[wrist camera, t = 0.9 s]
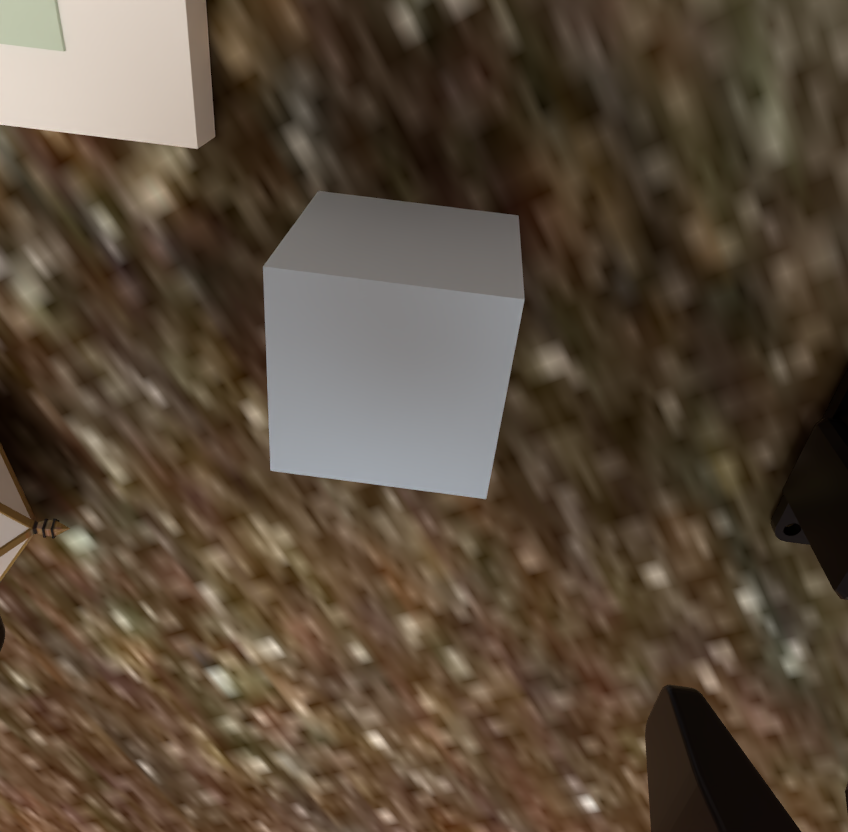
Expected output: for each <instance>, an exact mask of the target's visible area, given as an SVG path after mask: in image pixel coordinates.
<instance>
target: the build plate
mask: <svg viewBox="0 0 848 832" xmlns="http://www.w3.org/2000/svg"><path fill="white" fill-rule="evenodd" d="M0 125H8V126H16V127H24V128H32V129H40V130H48V131H57V132H65V133H73V134H81V135H89V136H97V137H105V138H113V139H121V140H130V141H138V142H146V143H154V144H162V145H170V146H178V147H186V148H195V149H198V148H200V147H201V146H203V145H204V144H206V143H207V142H208V141H210V140H211V139H213V138H214V137H215V124H214V110H213V95H212V81H211V66H210V52H209V37H208V22H207V8H206V0H0Z"/></svg>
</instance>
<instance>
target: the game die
mask: <svg viewBox="0 0 848 832" xmlns="http://www.w3.org/2000/svg"><path fill="white" fill-rule="evenodd" d="M68 529H70V528H68V527H66V526H65V525H63V524H61V523H59V520H57V519H53V520H48V519H45V520H44V521H40V522H37V520H36V518H35V516H34V514H33V511H32V509H31V507H30V505H29V503H28V501H27V499H26V497H25V494H24V492H23V490H22V488H21V486H20V484H19V482H18V479H17V477H16V475H15V473H14V471H13V469H12V467H11V465H10V462H9V460H8V458H7V456H6V454H5V452H4V450H3V447H2V445H1V443H0V582H1V580H2V579H3V578H4V576H5V575H6V573H7V572H8V571H9V569H10V568H11V566H12V565H13V563H14V562H15V561H16V559H17V558H18V556H19V555H20V554H21V552H22V551H23V549H24V548H25V546H26V545H27V544H28V542H29V541H30V539H31V538H32V536H33V535H34V534H37V533H38V534H41V535H43V537H45V538H46V536H52V538H55V537H56V535H58V534H60V533H62V532H64V531H66V530H68Z"/></svg>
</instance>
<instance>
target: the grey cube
mask: <svg viewBox="0 0 848 832" xmlns="http://www.w3.org/2000/svg"><path fill="white" fill-rule="evenodd" d="M263 281H264V308H265V335H266V362H267V389H268V416H269V443H270V470H271V471H277V472H284V473H292V474H299V475H307V476H315V477H322V478H330V479H337V480H345V481H353V482H360V483H368V484H375V485H383V486H391V487H398V488H406V489H413V490H421V491H429V492H436V493H444V494H451V495H459V496H467V497H474V498H482V499H486V497H487V492H488V487H489V482H490V477H491V471H492V466H493V461H494V456H495V451H496V445H497V440H498V435H499V430H500V425H501V419H502V414H503V409H504V404H505V399H506V393H507V388H508V383H509V378H510V373H511V368H512V362H513V357H514V352H515V347H516V342H517V336H518V331H519V326H520V321H521V316H522V310H523V305H524V300H525V298H524V284H523V270H522V256H521V242H520V228H519V215H511V214H503V213H494V212H486V211H478V210H470V209H462V208H454V207H446V206H438V205H430V204H421V203H413V202H405V201H397V200H389V199H381V198H373V197H365V196H356V195H348V194H340V193H332V192H324V191H318V192H317V193H316V195H315V196H314V197H313V199H312V200H311V201H310V203H309V204H308V205H307V207H306V208H305V210H304V211H303V212H302V214H301V215H300V216H299V218H298V219H297V221H296V222H295V223H294V225H293V226H292V227H291V229H290V230H289V232H288V233H287V234H286V236H285V237H284V238H283V240H282V241H281V242H280V244H279V245H278V247H277V248H276V249H275V251H274V252H273V253H272V255H271V256H270V258H269V259H268V260H267V262H266V263H265V264H264V266H263Z"/></svg>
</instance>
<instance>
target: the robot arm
mask: <svg viewBox="0 0 848 832" xmlns="http://www.w3.org/2000/svg"><path fill="white" fill-rule="evenodd" d="M783 493H784V495H783V497H782V499H781V501H780V503H779V505H778V507H777V509H776V511H775V513H774V515H773V517H772V519H771V526H772V529H773V531H774V533H775V535H776V537H777V538H779V539H780V540H783V541H786V542H793V543H801V544H809V545H811V547H812V549H813V551H814V553H815V555H816V557H817V559H818V561H819V563H820V565H821V566H822V568H823V570H824V572H825V574H826V576H827V578H828V580H829V582H830V584H831V586H832V588H833V589H834V591H835V592H836V594H837V595H838V596H839V597H840V598H841V599H846V600H848V369H847V371H846V373H845V375H844V377H843V379H842V381H841V383H840V385H839V387H838V389H837V391H836V393H835V395H834V397H833V399H832V401H831V403H830V404H829V406H828V408H827V410H826V412H825V414H824V416H823V418H822V420H821V421H819V422H818V423H817V424H816V425H815V426H814V428H813V430H812V432H811V434H810V436H809V438H808V440H807V442H806V444H805V446H804V448H803V450H802V452H801V454H800V456H799V458H798V460H797V462H796V464H795V466H794V468H793V470H792V472H791V474H790V476H789V478H788V480H787V482H786V484H785V486H784V488H783ZM793 523H795V524H794V525H792V526H789V527H786V526H787V525H789V524H793ZM4 639H5V628H4V624H3V622H2V619H1V616H0V651H1V649H2V646H3V643H4ZM645 740H646V756H647V772H648V788H649V804H650V820H651V832H801V831H800V829H799V828H798V827H797V825H796V824H795V822H794V821H793V820H792V818H791V817H790V816H789V814H788V813H787V811H786V810H785V809H784V807H783V806H782V804H781V803H780V802H779V800H778V799H777V798H776V796H775V795H774V793H773V792H772V791H771V789H770V788H769V787H768V785H767V784H766V782H765V781H764V780H763V778H762V777H761V776H760V774H759V773H758V771H757V770H756V769H755V767H754V766H753V764H752V763H751V762H750V760H749V759H748V758H747V756H746V755H745V753H744V752H743V751H742V749H741V748H740V747H739V745H738V744H737V742H736V741H735V740H734V738H733V737H732V735H731V734H730V733H729V731H728V730H727V729H726V727H725V726H724V724H723V723H722V722H721V720H720V719H719V718H718V716H717V715H716V713H715V712H714V711H713V709H712V708H711V706H710V705H709V704H708V702H707V701H706V700H705V698H704V697H703V696H702V694H701V693H700V692H699V691H697V690H696V689H694V688H690V687H682V686H675V685H666V686H665V687H663V689H662V690H661V692H660V694H659V696H658V698H657V700H656V703H655V705H654V707H653V709H652V711H651V713H650V715H649V718H648V720H647V724H646V732H645ZM845 794H846V802H847V811H848V784H847V787H846V790H845Z"/></svg>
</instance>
